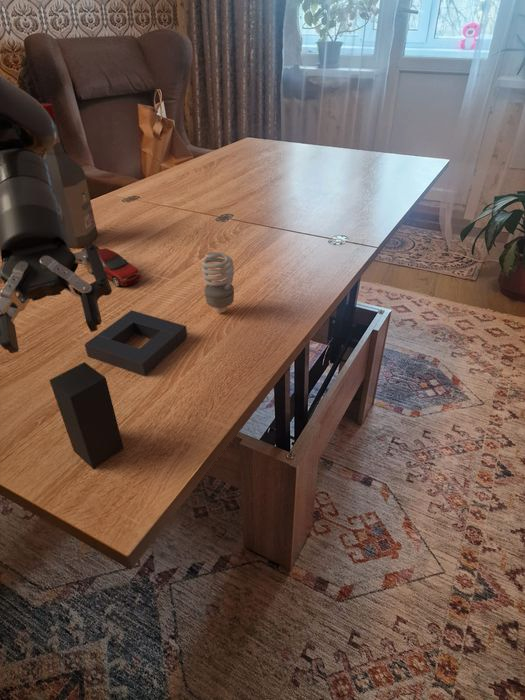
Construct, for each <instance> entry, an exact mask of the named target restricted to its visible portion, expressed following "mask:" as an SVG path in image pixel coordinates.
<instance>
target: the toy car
mask: <svg viewBox="0 0 525 700" xmlns="http://www.w3.org/2000/svg"><path fill="white" fill-rule="evenodd" d="M96 248H97V250H98V253H99V255H100V257H101V260H102V263H103V266H104V269H105V272H106V275H107V278H108V280H109V281H112V282H113V284H114V286H115V287H117V288H118V287H120V286H122V287H125V286H128V285H131V284H133V283H135V282H137V281H140V280H141V279H142V274H141V272H140V271H139V269H138V268H137V267H136V266H134V265H133V264H131V263H130V262H129V261H128V260H126V259H125V258H124V257H123V256H121V255H120V254H119V253H117V252H115V251H114V250H111V249H110V248H105V247H104V248H99V247H98V246H96ZM84 250H86V249H85V248H82V249H81V251H84ZM86 269H87V271H88V273H89V274H93V271H92V270H90V269H88V268H86Z"/></svg>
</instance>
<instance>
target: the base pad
mask: <svg viewBox="0 0 525 700" xmlns="http://www.w3.org/2000/svg"><path fill="white" fill-rule="evenodd" d="M136 335H138V336H142V337H145V338H147V339H149V340H148V341H147V342H146V343H144V344H143V345H142V346H141V347H140V348H138V347H136V346H133V345H129V344H127V342H128V341H129V340H131V339H132V338H133V337H135V336H136ZM187 339H188V331H187V325H184V324H180V323H177V322H173V321H170V320H167V319H164V318H159V317H157V316H152V315H150V314H146V313H142V312H139V311H136V310H132V309H131V310H130V311H128V312H127V313H125V314H124V315H122V316H121V317H120V318H118V319H117V320H116V321H114V322H113V323H112V324H110V325H109V326H107V327H106V328H105V329H104V330H101V331H100V332H99V333H98V334H97V335H95V336H94V337H92V338H91V339H89V340H88V341H87V342H85V343H84V348H85V351H86V356H87V357H88V358H91V359H94V360H96V361H100V362H103V363H105V364H107V365H108V364H109V365H110V366H114V367H117V368H119V369H123V370H126V371H128V372H131V373H134V374H137V375H140V376H143V377H146V376H147V375H148V374H149V373H151V372H152V371H153V370H154V369H155V368H156V367H157V366H158V365H159V364H161V363H162V362H163V361H164V360H165V359H166V358H168V356H169V355H170V354H172V353H173V352H174V351H175V350H176V349H178V347H179V346H180V345H181V344H182V343H184V342H185V341H186V340H187Z"/></svg>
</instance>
